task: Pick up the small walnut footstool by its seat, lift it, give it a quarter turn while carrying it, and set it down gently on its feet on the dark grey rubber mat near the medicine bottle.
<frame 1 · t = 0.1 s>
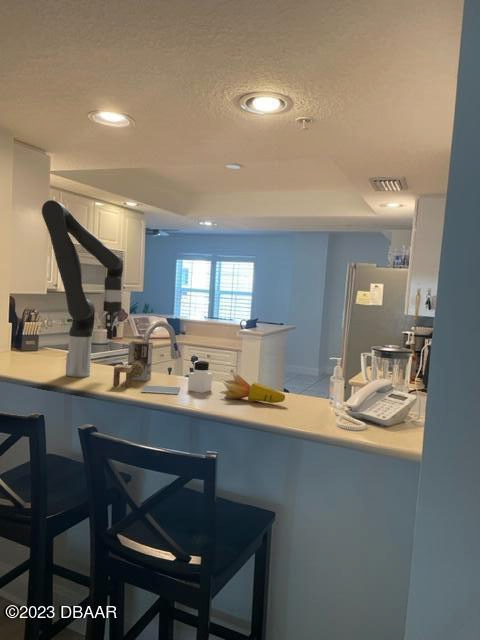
hand: (111, 338, 196), 17 cm above the countertop, tool pointing down, fingers open, 8 cm apart
mat: (161, 390, 179), on the countertop
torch: (251, 402, 171), on the countertop
medicine bottle: (199, 391, 184), on the countertop
coffee box: (138, 379, 198), on the countertop
stool: (122, 385, 182), on the countertop
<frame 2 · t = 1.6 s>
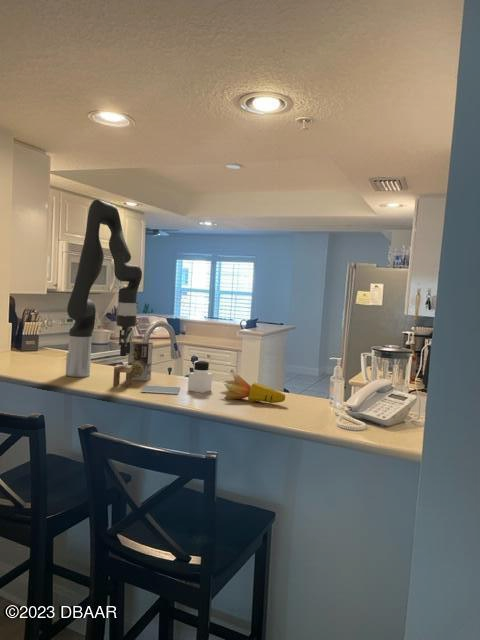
hand: (125, 354, 181), 13 cm above the countertop, tool pointing down, fingers open, 8 cm apart
nothing on the countertop moved.
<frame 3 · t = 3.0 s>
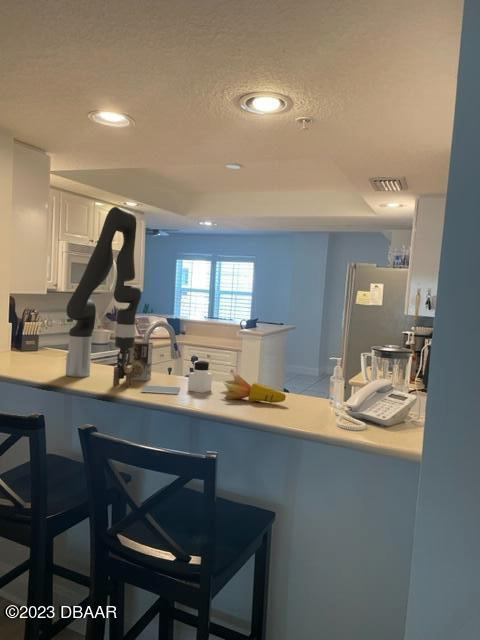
hand: (122, 376, 182), 4 cm above the countertop, tool pointing down, fingers closed on stool, 6 cm apart
stool: (122, 385, 182), on the countertop, touching gripper
everything else where it was.
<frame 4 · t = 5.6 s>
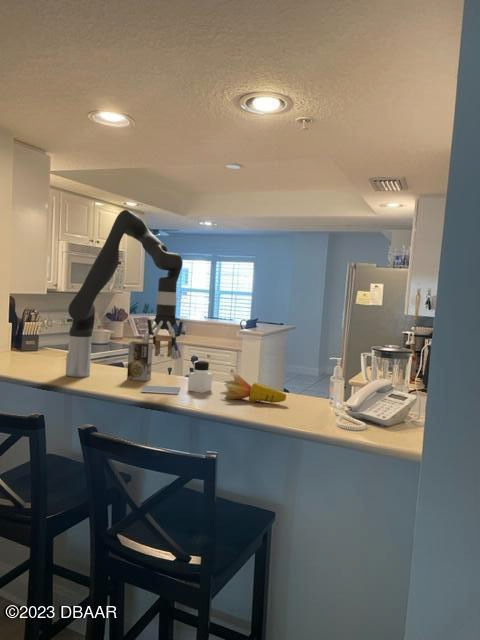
hand: (163, 346, 178), 18 cm above the countertop, tool pointing down, fingers closed on stool, 6 cm apart
stool: (163, 355, 178), point 14 cm above the countertop, touching gripper
everything else where it was.
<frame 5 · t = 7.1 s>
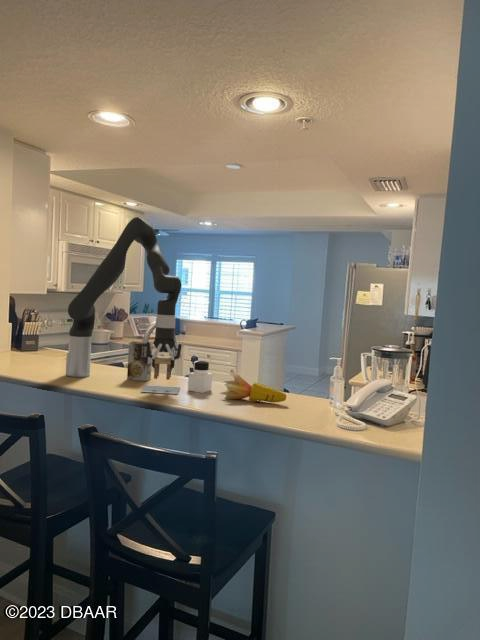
hand: (162, 368, 179), 9 cm above the countertop, tool pointing down, fingers closed on stool, 6 cm apart
stool: (162, 377, 179), point 5 cm above the countertop, touching gripper
everything else where it was.
when the fingers open (5 cm above the countertop, at t = 8.4 s): stool stays where it is, resting on mat.
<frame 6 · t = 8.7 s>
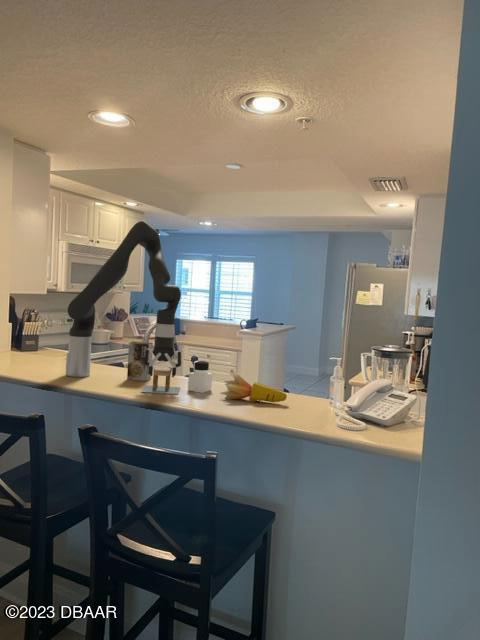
hand: (162, 376, 179), 6 cm above the countertop, tool pointing down, fingers open, 8 cm apart
stool: (161, 389, 179), resting on mat
everything else where it was.
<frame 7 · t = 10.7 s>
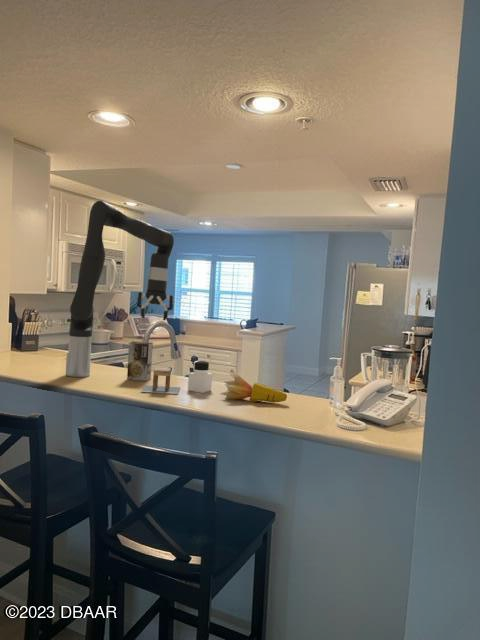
hand: (153, 319, 184), 27 cm above the countertop, tool pointing down, fingers open, 8 cm apart
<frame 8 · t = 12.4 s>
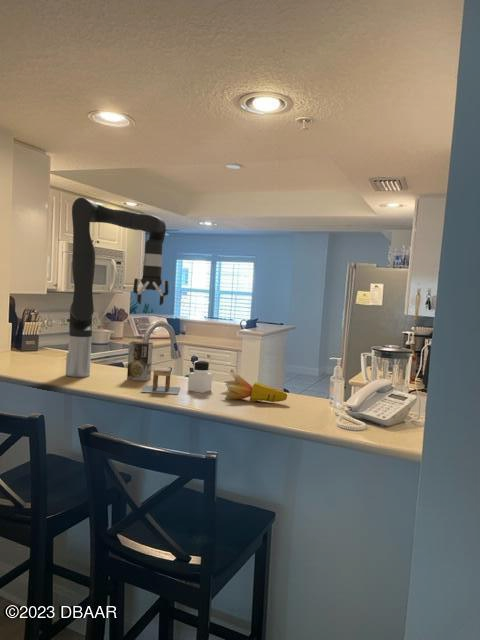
hand: (150, 304, 189), 33 cm above the countertop, tool pointing down, fingers open, 8 cm apart
at the end: stool inside the target area on the mat (0.0 cm from its centre), point 0.4 cm above the mat's base; stool tilted 0°; the gripper is holding nothing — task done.
